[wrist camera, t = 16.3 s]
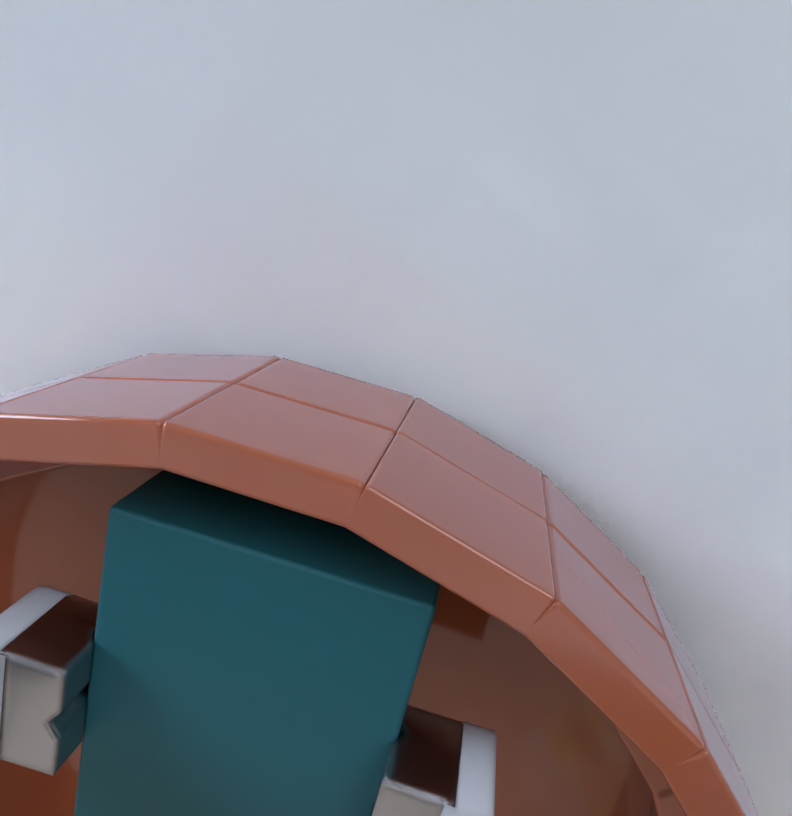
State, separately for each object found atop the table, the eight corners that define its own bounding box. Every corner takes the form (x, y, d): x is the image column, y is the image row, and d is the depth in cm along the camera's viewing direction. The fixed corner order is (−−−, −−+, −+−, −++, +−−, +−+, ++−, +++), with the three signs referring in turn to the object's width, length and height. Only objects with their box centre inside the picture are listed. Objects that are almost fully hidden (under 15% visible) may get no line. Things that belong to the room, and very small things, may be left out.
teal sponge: (193, 445, 11) (107, 505, 9) (453, 522, 11) (436, 608, 8) (149, 726, 13) (69, 839, 11) (371, 801, 13) (338, 937, 10)
